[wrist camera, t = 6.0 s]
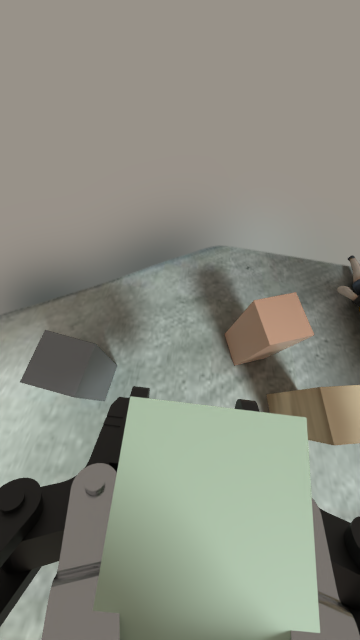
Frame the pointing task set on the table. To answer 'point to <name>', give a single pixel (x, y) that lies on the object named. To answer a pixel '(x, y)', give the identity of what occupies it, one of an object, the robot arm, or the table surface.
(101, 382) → the charcoal block
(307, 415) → the oak block
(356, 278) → the figurine
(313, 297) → the table surface
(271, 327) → the terracotta block
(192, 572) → the green block
